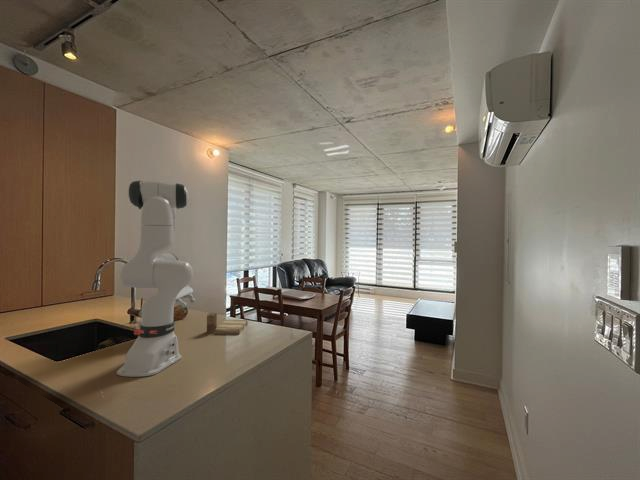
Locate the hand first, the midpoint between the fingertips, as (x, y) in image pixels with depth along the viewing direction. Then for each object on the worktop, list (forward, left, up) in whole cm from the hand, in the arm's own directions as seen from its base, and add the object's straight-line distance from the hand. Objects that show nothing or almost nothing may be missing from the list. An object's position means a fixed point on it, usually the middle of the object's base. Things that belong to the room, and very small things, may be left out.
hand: (189, 304), depth 148 cm
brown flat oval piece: (+19, +18, -14) cm, 30 cm away
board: (+5, -20, -14) cm, 25 cm away
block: (0, -11, -14) cm, 18 cm away
